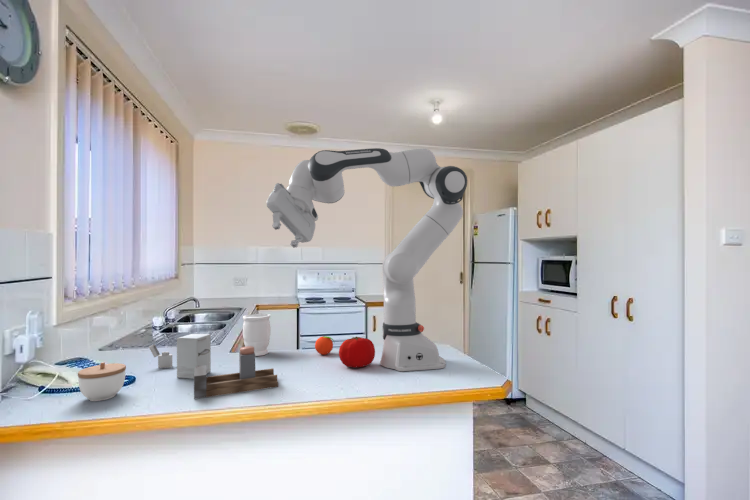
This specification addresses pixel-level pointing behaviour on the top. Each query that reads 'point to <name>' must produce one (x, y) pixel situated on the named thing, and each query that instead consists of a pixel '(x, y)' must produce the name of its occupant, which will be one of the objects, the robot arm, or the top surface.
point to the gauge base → (230, 382)
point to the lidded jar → (101, 381)
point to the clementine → (324, 345)
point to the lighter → (162, 357)
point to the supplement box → (193, 354)
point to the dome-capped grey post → (247, 362)
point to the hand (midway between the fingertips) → (284, 237)
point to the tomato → (357, 352)
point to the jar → (257, 332)
